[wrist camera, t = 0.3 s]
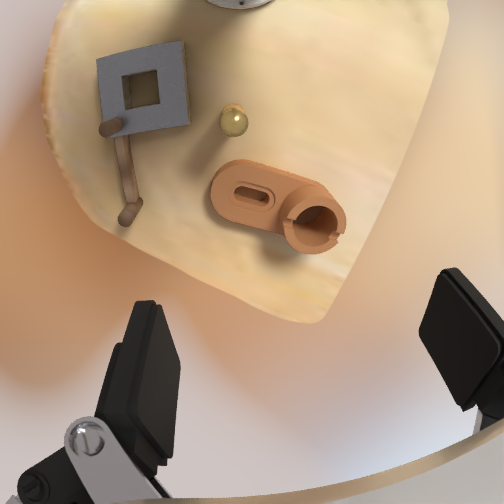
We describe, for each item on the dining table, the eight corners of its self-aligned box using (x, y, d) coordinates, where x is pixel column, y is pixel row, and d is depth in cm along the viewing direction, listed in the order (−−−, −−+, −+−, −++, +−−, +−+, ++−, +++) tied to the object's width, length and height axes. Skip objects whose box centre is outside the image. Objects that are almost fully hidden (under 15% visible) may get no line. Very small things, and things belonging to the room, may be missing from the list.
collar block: (104, 60, 31) (96, 59, 28) (184, 43, 31) (181, 40, 29) (113, 134, 37) (106, 138, 34) (191, 122, 37) (188, 125, 35)
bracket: (339, 189, 44) (356, 207, 38) (318, 236, 48) (330, 260, 42) (221, 152, 40) (219, 165, 34) (205, 206, 44) (201, 228, 38)
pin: (221, 104, 36) (218, 111, 28) (242, 103, 36) (247, 109, 28) (222, 125, 38) (221, 138, 29) (244, 123, 38) (248, 135, 29)
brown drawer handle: (114, 116, 35) (97, 123, 30) (127, 114, 35) (112, 119, 30) (131, 209, 43) (119, 227, 38) (144, 207, 43) (133, 226, 38)
